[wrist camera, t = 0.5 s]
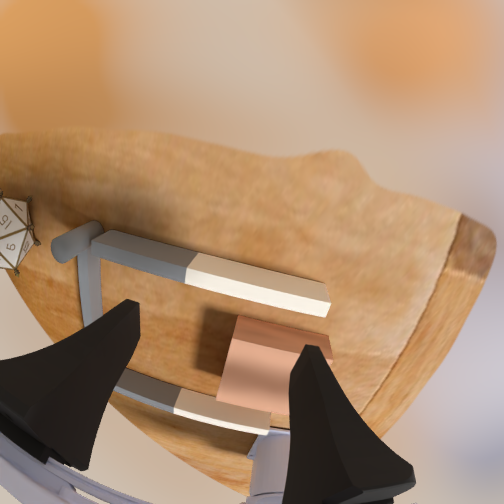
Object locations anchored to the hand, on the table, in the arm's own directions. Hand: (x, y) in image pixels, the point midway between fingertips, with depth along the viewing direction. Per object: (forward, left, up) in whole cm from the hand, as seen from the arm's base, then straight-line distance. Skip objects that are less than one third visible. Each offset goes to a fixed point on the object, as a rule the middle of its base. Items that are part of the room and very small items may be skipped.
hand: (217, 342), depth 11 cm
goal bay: (-9, +9, -10) cm, 17 cm away
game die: (-2, +24, -11) cm, 26 cm away
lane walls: (-9, -1, -10) cm, 14 cm away
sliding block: (-9, -4, -11) cm, 15 cm away
